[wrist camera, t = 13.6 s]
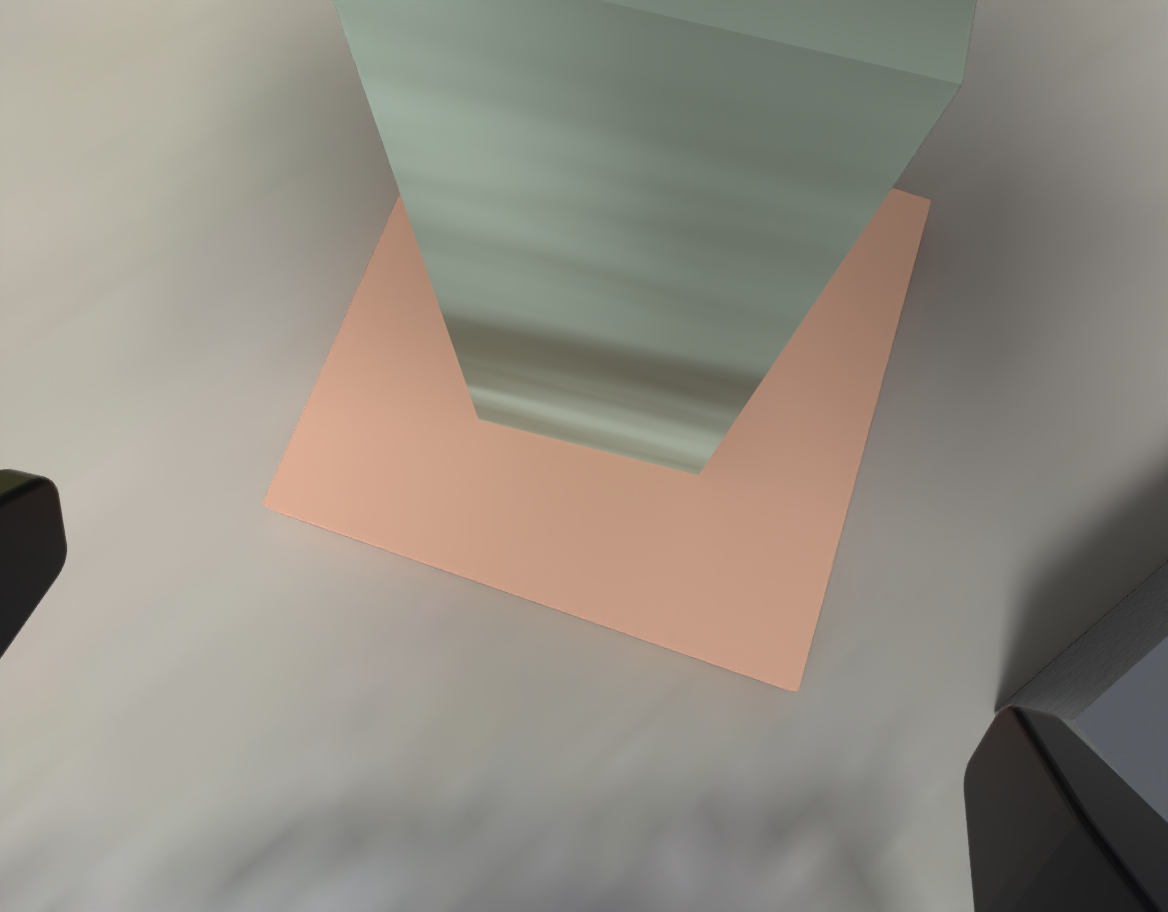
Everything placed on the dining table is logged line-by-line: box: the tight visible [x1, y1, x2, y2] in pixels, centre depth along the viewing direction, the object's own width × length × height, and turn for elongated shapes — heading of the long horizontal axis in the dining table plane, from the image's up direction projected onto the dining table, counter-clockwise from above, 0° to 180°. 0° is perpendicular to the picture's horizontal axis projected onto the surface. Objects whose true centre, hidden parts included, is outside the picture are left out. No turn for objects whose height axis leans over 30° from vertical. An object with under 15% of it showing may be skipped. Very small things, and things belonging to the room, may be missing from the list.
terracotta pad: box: [262, 188, 932, 691], centre depth 20 cm, size 12×12×1 cm
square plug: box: [333, 0, 977, 475], centre depth 13 cm, size 5×5×13 cm
